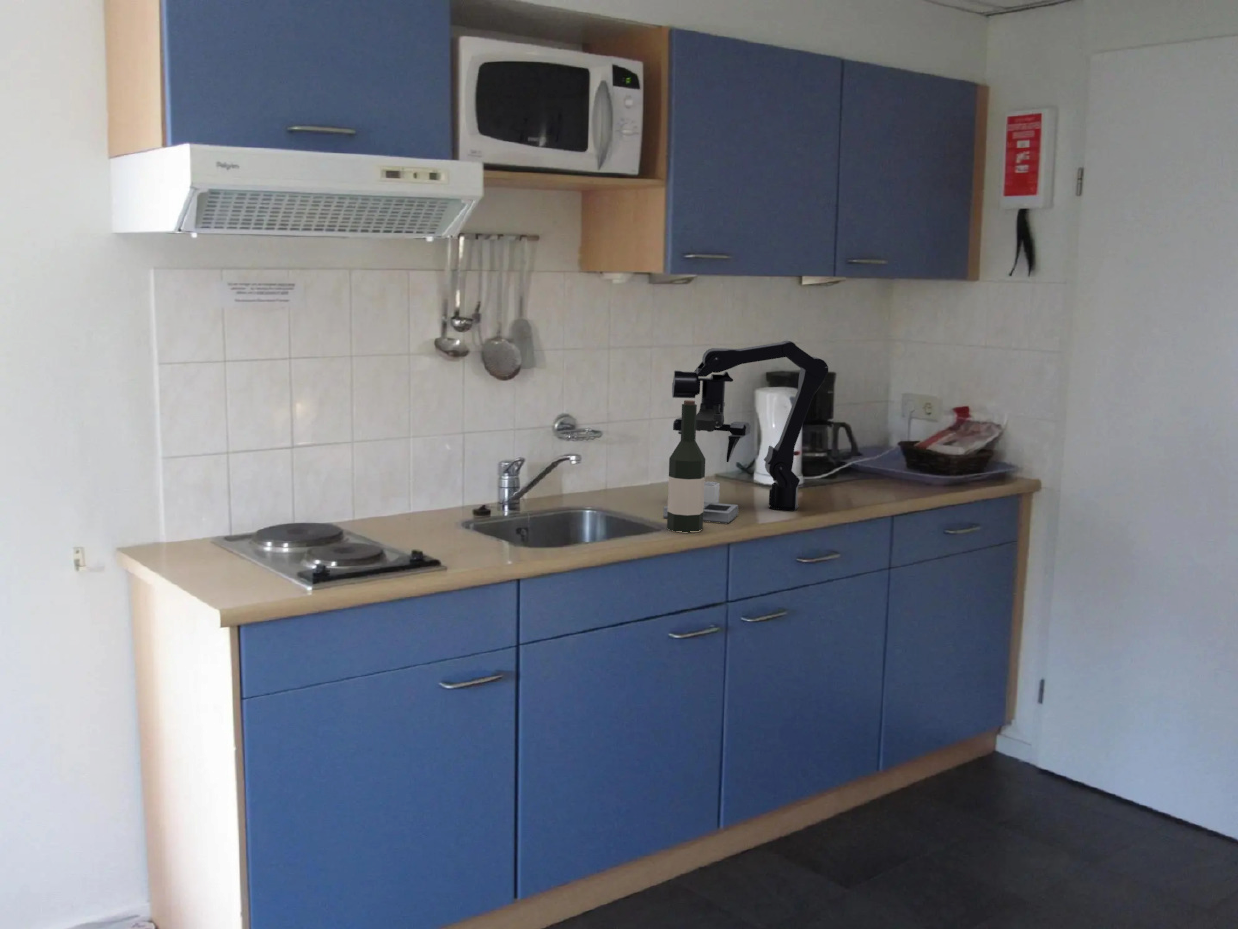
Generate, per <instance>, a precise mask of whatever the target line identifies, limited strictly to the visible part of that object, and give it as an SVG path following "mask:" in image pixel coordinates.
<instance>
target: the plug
mask: <svg viewBox="0 0 1238 929" xmlns="http://www.w3.org/2000/svg"><path fill="white" fill-rule="evenodd" d="M704 502H709V503H720V482H719V483H718V482H717V481H705V483H704Z"/></svg>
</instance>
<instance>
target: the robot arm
mask: <svg viewBox="0 0 1238 929" xmlns="http://www.w3.org/2000/svg"><path fill="white" fill-rule="evenodd" d="M783 358H787V359H788V360H789V361H790V362H791V363H792V364H794V365H795V366H797V367H798V368H800V369H799V375H798V383H797V384H798V385H797V390H796V394H795V396H794V400H793V402H792V405H791V408H790V410H789V413H788V416H787V419H786V422H785V424H784V427H783V429H782V432H781V435H780V438H779V440H778V441H777V443H776V445H774V446H772V445H769V446H768V447H767V448H768V449H767V454H766V456H765V457H764V458H763V461H764V462H765V464H764V468H765V472H766V473H768V474H769V475H770V476H771V478H772V480H773V482H772V484H771V488H770V489H769V491H768V492H769V493H768V494H769V495H768V496H769V497H768V505H769V507H768V508H769V509H770V510H778V509H780V510H781V511H790V510H791V511H792V512H795V511H796V510H797V509H798V508H799V504H798V501H799V500H798V496H799V484H800V481H801V479H800V478H799V477H798V476H797V475H796V473H794V472H793V465H794V459H795V447H796V444H797V442H798V439H799V436H800V433H801V431H802V428H803V424H804V423H805V420H806V417H807V415H808V411H809V409H810V406H811V403H812V400H813V398H814V396H815V394H816V393H817V391H819V389H820V388H821V387H822V385H823V383H824V381H825V380H826V378H827V376H828V374H829V366H828V364H827V362H826V361H825V360H823V359H821V358H819V357H816V356H811V354H808V353H807V352H805V351H804V350H803V349H801V348H800V347H799V346H797V345H796V343H795V342H793V341H790V340H783V341H780V342H775V343H766V344H761V345H755V346H750V347H743V348H727V347H726V348H724V347H722V348H721V347H720V348H719V347H711V348H708V349H707V350H705V352H704V353H703V354H702V361H701V362H700V363H699V364H698V366H697V367H696V369H694V371H682V370H674V371H673V380H672V383H671V397H672V399H696V396H698V395H700V392H701V402H700V405H699V411H698V412H697V413H696V432H700V431H704V432H705V431H706V432H708V433H712V432H714V431H718V432H730V435H728V445H727V450H726V451H727V452H726V462H727V463H729V462H730V460H731V458H732V455H733V453H734V452H735V448H736V446H737V444H738V442H739V441H740V439H742V438H744V437H745V436H747V435H749V434H751V424H750V423H749V422H747V421H737V420H736V421H733V422H731V423H725V414H724V412H725V406H726V402H725V396H726V395H725V393H726V382H728V383H731V382H733V381H734V378H732V377H731V376H730V374H729V373H728V371H727V370H730V369H733V368H735V367H738V366H740V365H744V364H750V363H756V362H762V361H769V360H774V359H775V360H776V359H783ZM722 372H723V373H722ZM716 373H718V374H716ZM719 373H721V374H719ZM709 375H710V377H707V376H709ZM681 418H682V416H681V417H678V418H676V419H674V421H673V424H672V425H673V426H672V430H673V431H677V434H679V435H681Z"/></svg>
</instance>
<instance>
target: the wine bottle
mask: <svg viewBox="0 0 1238 929" xmlns="http://www.w3.org/2000/svg"><path fill="white" fill-rule="evenodd" d="M697 407H698V404H696V401H695V400H694V399H693V400H692V399H691V400H690V399H688V400H687V399H685V400H683V403H682V404H681V417H682V418H681V417H680V418H681V434H680V441H679V442H678V444H677V446H676V447H675V448H674V450H673V452H672V453H671V455H670V456H669V459H668V486H667V487H668V488H667V490H668V491H667V496H668V497H667V505H668V512H667V518H666V529H667V528H668V529H670V530H673V531H682V532H690V531H699V530H701V529H703V530H704V522H703V508H704V483H705V482H706V481H705V479H706V478H705V477H706V457H705V456H704V454H703V452H702V450H701V448H700V447H699V445H698V443H697V440H696V439H697V437H696V436H697V435H696V434H697V430H696V415H697V413H698V412H697V409H698V408H697ZM668 529H667V530H668ZM670 530H669V531H670ZM701 531H702V530H701Z"/></svg>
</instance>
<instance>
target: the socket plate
mask: <svg viewBox="0 0 1238 929" xmlns="http://www.w3.org/2000/svg"><path fill="white" fill-rule="evenodd" d="M667 512H668V504H667V505H665V506H664V507H663V512H662V515H663V516H662V517H664V518H663V519H667ZM737 515H738V516H739V504H732V503H731V504H730V503H721V502H719V503H709V502H704V508H703V521H710V522H709V523H711V522H720V523H719V524H722V523H729V522H730V521H731V522H732V521H733V520H734V519H735V518H737V517H736V516H737ZM731 522H730V523H731ZM730 523H729V524H730Z"/></svg>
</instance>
